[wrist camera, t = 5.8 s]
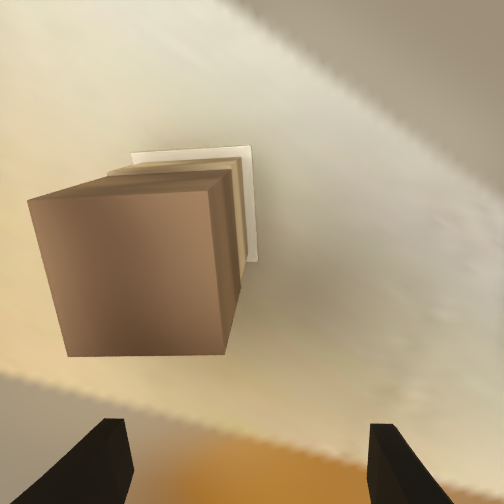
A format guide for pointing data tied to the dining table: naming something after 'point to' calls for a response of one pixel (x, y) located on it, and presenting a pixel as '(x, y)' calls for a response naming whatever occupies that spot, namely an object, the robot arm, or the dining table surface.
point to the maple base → (204, 165)
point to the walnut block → (142, 263)
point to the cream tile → (217, 153)
